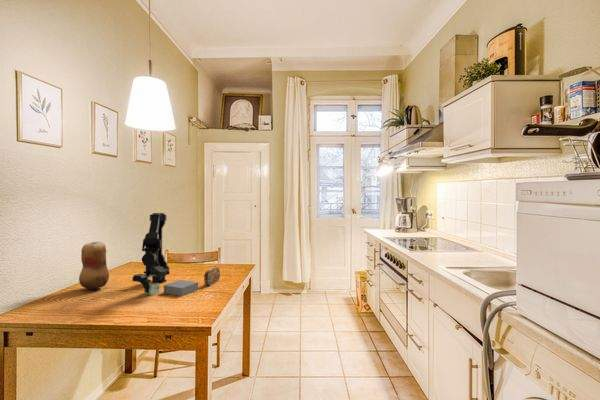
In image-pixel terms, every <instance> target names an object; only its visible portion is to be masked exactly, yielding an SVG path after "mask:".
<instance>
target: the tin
mask: <svg viewBox="0 0 600 400" xmlns="http://www.w3.org/2000/svg"><path fill="white" fill-rule="evenodd" d="M220 275H221V273H220V268H218V267H212V268H210V269H208V270H206V271H205V273H204V275H203V279H204V285H206V286H213V285H214V284H217V283H218V282H219V281H220V277H221V276H220Z"/></svg>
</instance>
